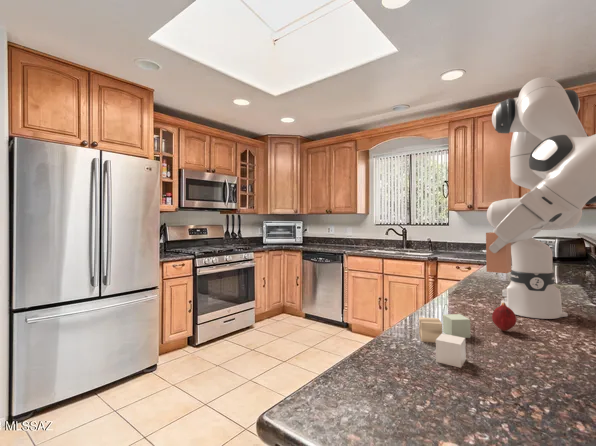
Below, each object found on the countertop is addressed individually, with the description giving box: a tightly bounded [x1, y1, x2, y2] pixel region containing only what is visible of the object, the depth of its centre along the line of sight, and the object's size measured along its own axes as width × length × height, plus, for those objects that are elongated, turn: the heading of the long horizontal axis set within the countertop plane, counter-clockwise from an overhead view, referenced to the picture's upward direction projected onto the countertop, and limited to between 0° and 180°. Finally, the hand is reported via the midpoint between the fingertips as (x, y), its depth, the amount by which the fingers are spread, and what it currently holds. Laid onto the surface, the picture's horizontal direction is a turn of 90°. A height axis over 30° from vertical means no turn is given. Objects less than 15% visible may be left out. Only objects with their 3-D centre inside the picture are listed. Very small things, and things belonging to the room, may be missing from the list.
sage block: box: [442, 313, 471, 339], centre depth 88 cm, size 5×5×5 cm
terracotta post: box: [485, 231, 512, 274], centre depth 74 cm, size 4×4×9 cm
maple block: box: [418, 316, 443, 344], centre depth 85 cm, size 5×5×5 cm
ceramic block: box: [435, 333, 467, 369], centre depth 72 cm, size 5×5×5 cm
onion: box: [491, 303, 517, 332], centre depth 91 cm, size 6×6×8 cm
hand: (495, 250), depth 74 cm, fingers closed on terracotta post, 4 cm apart
